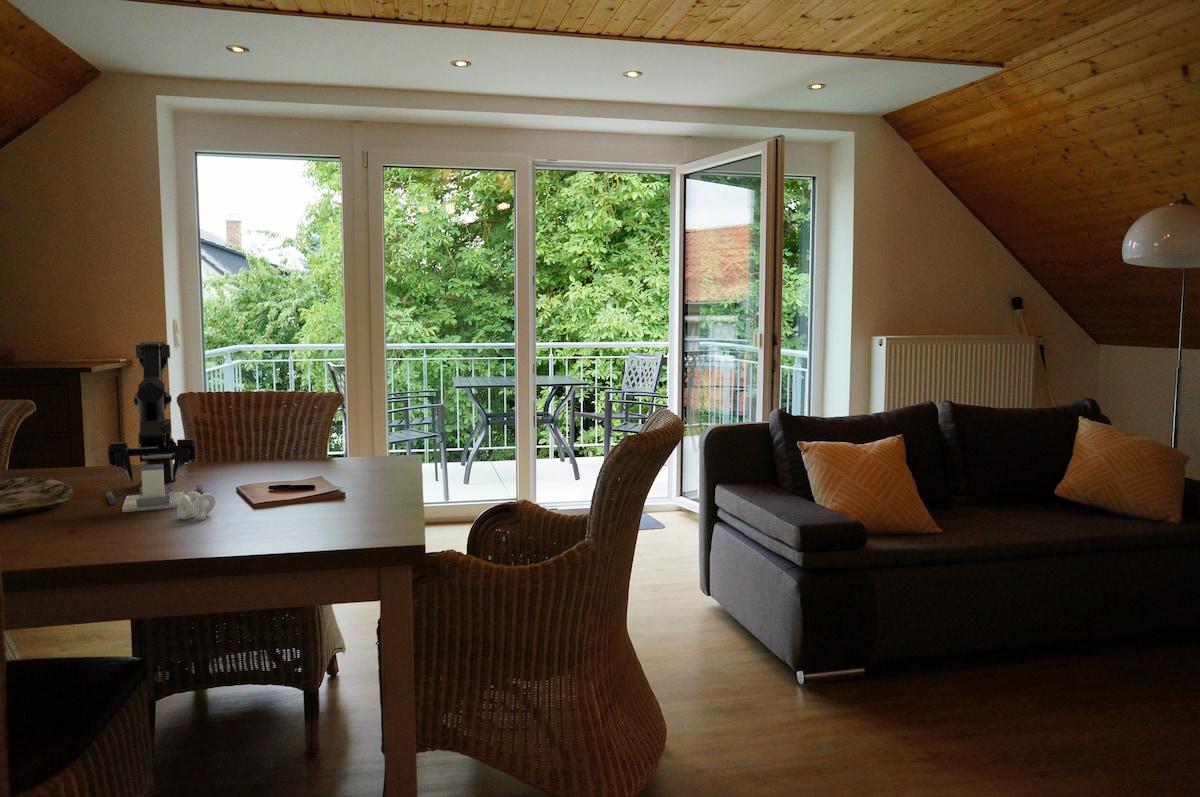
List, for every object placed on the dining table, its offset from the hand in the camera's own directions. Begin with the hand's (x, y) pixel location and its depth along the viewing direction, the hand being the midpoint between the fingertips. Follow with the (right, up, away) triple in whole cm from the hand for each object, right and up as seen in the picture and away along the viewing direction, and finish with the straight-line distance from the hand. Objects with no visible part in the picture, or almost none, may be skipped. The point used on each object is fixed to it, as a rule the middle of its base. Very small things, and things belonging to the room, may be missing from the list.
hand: (153, 479), depth 202 cm
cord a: (+3, -5, +17) cm, 18 cm away
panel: (-2, -6, +5) cm, 9 cm away
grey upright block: (-1, -6, +1) cm, 6 cm away
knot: (+15, -8, -10) cm, 20 cm away
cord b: (-15, -6, +8) cm, 18 cm away
